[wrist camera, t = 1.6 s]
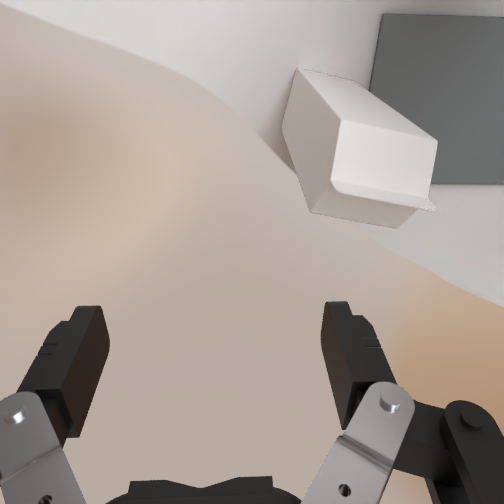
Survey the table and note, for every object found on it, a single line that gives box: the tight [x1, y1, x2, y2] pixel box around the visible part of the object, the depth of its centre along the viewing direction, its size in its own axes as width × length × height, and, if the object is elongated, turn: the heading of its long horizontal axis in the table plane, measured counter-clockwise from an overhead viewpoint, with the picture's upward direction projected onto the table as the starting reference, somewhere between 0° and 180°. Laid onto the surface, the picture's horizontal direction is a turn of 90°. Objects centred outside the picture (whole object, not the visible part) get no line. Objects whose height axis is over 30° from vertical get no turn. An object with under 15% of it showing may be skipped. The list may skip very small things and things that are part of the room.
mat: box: [369, 14, 504, 184], centre depth 40 cm, size 16×21×1 cm
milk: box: [281, 68, 438, 228], centre depth 30 cm, size 6×6×22 cm
